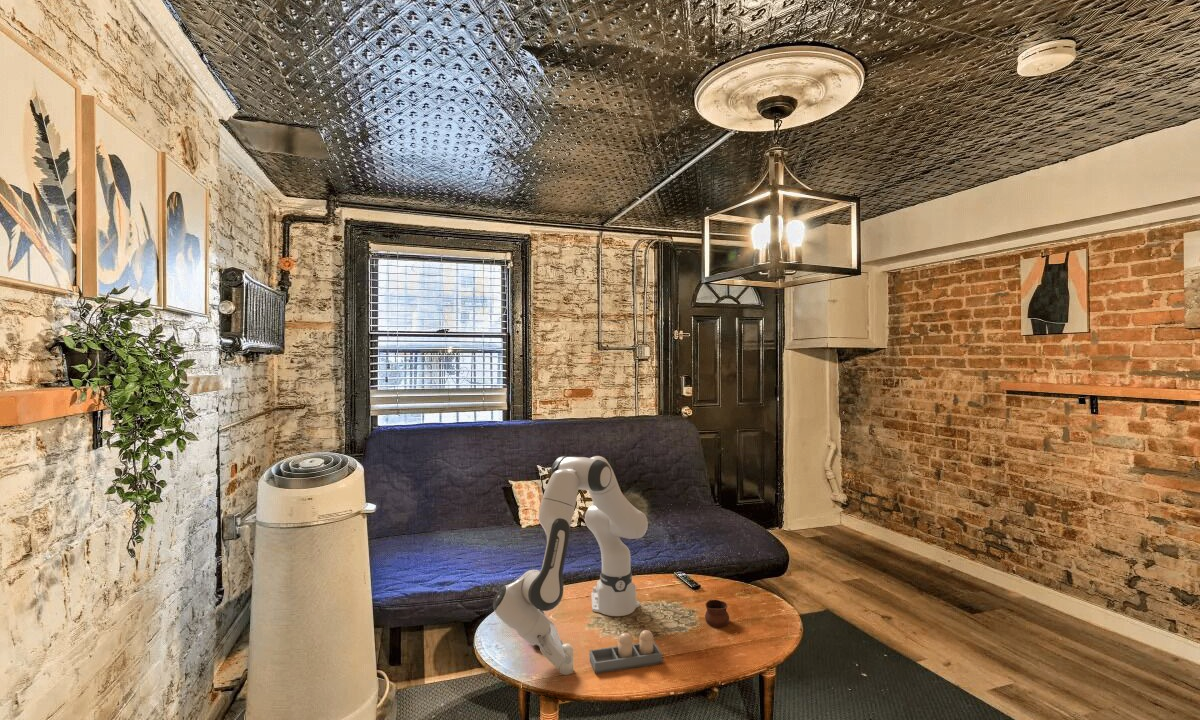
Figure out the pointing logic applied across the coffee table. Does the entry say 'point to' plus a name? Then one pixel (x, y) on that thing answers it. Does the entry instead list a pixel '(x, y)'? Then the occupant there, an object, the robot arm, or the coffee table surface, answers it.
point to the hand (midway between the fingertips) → (568, 656)
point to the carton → (626, 654)
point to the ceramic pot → (716, 613)
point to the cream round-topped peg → (565, 667)
